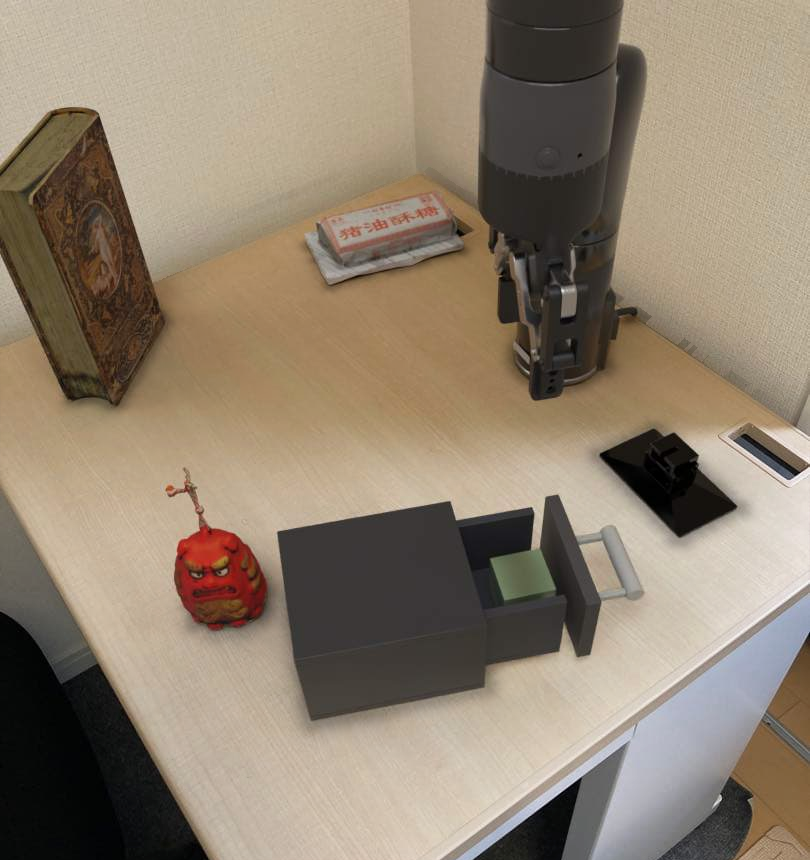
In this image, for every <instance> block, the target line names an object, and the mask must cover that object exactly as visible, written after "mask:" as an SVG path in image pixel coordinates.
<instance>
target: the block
mask: <svg viewBox="0 0 810 860" xmlns="http://www.w3.org/2000/svg"><path fill="white" fill-rule="evenodd" d="M489 591H490V594H491V597H492V600H493V603H494V606H495V607H500V606H505V605H511V604H516V603H521V602H527V601H532V600H538V599H543V598H548V597H554V596H555V594H556V587H555V585H554V582H553V580H552V577H551V575H550V572H549V569H548V567H547V564H546V562H545V559H544V557H543V554H542V552H541V549H540V547H539V548H535V549H531V550H529V551H524V552H519V553H514V554H509V555H504V556H499V557H494V558H490V568H489Z"/></svg>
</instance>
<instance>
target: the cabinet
mask: <svg viewBox="0 0 810 860" xmlns="http://www.w3.org/2000/svg"><path fill="white" fill-rule="evenodd" d="M456 520H457V518H456V515H455V512H454V508H453V505H452V501H451V500H446V501H441V502H436V503H430V504H424V505H418V506H413V507H407V508H403V509H395V510H391V511H385V512H379V513H374V514H373V513H372V514H368V515H362V516H361V515H360V516H356V517H351V518H345V519H339V520H334V521H328V522H323V523H317V524H311V525H306V526H305V525H304V526H300V527H294V528H288V529H283V530H278V531H277V532H276V534H277V542H278V549H279V550H278V551H279V557H280V565H281V566H280V567H281V573H282V580H283V587H284V596H285V604H286V611H287V617H288V618H287V620H288V625H289V632H290V634H289V635H290V641H291V649H292V655H293V662H294V665H295V669H296V674H297V676H298V677H297V678H298V680H299V684H300V687H301V691H302V696H303V699H304V702H305V706H306V709H307V714H308V717H309V720H310V721H311V722H315V721H319V720H324V719H329V718H334V717H339V716H344V715H345V716H346V715H350V714H354V713H360V712H365V711H370V710H375V709H380V708H385V707H391V706H396V705H400V704H406V703H411V702H415V701H416V702H417V701H421V700H428V699H431V698H432V699H433V698H437V697H443V696H447V695H452V694H457V693H463V692H468V691H473V690H478V689H483V688H485V684H486V683H485V681H486V666H485V662H486V638H487V622H486V619H485V615H484V612H483V609H482V605H481V602H480V599H479V595H478V592H477V588H476V585H475V582H474V578H473V575H472V572H471V568H470V565H469V562H468V558H467V555H466V551H465V548H464V545H463V541H462V538H461V535H460V531H459V528H458V524H457V521H456Z"/></svg>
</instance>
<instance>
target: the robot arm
mask: <svg viewBox="0 0 810 860" xmlns="http://www.w3.org/2000/svg"><path fill="white" fill-rule="evenodd" d="M624 5H625V0H485V25H484V27H485V29H484V60H483V69H482V75H481V82H480V90H479V101H478V106H479V108H478V151H477V152H478V153H477V157H478V159H477V160H478V161H477V162H478V163H477V207H478V211H479V214H480V216H481V218H482V219H483V220H484V222H485V223H486V224H487V225H488V227H489V229H488V241H487V248H488V250H489V252H490V254H491V255H494V257H495V259H494V264H493V270H494V272H495V274H496V276H497V277H498V279H497V301H496V305H497V306H496V316H497V318H498V322H499V323H500V324H503V325H507V324H514V323H516V331H515V333H516V334H515V340H513V344H512V348H513V349H514V351H513V352H514V353H513V360H514V363H515V366H516V367H517V369H518V370H519V372H521V374H523V375H524V376H525V377H526V378H528V393H529V396H530V398H531V400H532V401H535V402H539V401H544V400H551V399H557V398H559V397H560V396H561V395H562V394H563V392H564V386H571V385H576V384H579V383H582V382H583V381H586V380H588V379H589V378H591V377H592V376H593V375H594V374H595V373H596V372H597V371H600V370H601V371H602V370H605V369H606V367H607V361H608V360H607V359H608V353H609V347H610V341H613V340H614V341H615V340H617V338H618V334H619V333H618V332H619V326H620V320H621V318H620V317H622V316H626V315H631V316H632V317H637V315H638V313H639V311H638V308H637V307H636V306H629V307H622V308H618V309H617V308H616V304H617V294H616V292H615V290H614V289H613V287H612V279H613V273H614V265H615V260H616V252H617V245H618V239H619V238H618V237H619V234H620V233H619V231H620V225H621V220H622V215H623V208H624V202H625V198H626V192H627V188H628V183H629V177H630V171H631V166H632V160H633V155H634V150H635V144H636V140H637V135H638V131H639V127H640V121H641V118H642V112H643V109H644V102H645V97H646V92H647V83H648V63H647V58H646V54H645V53H644V51H643V50H642V49H641V48H640V47H638V46H635V45H633V44H628V43H623V42H620V37H621V29H622V21H623V13H624Z"/></svg>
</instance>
